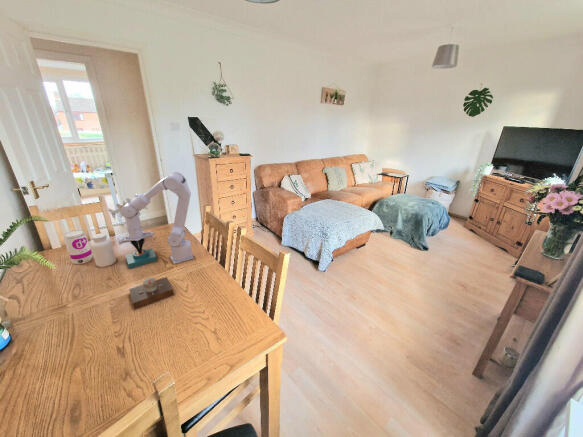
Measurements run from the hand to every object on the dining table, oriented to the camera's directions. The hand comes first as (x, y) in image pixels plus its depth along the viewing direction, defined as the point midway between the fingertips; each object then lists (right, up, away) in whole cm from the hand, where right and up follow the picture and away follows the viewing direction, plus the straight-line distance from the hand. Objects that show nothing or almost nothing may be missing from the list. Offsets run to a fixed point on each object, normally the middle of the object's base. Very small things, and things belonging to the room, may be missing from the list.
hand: (140, 252), depth 118 cm
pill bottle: (-15, -5, -1) cm, 16 cm away
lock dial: (+18, -12, -22) cm, 31 cm away
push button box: (0, -4, +2) cm, 4 cm away
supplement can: (-28, -4, 0) cm, 28 cm away
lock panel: (+18, -14, -21) cm, 31 cm away
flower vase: (-14, +4, +19) cm, 24 cm away
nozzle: (0, -2, +1) cm, 2 cm away
